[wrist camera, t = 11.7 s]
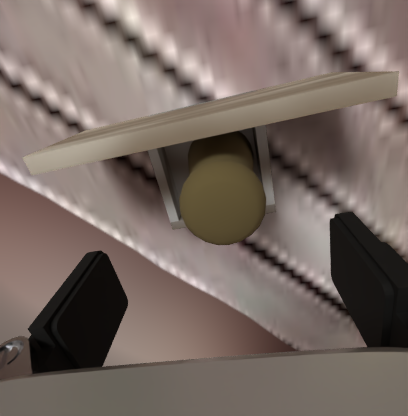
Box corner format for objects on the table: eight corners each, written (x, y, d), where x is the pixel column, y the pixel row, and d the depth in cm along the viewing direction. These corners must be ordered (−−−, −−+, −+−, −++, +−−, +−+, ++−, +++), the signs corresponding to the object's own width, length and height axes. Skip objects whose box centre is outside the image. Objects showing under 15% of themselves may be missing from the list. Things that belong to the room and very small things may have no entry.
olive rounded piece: (256, 184, 25) (282, 254, 16) (194, 194, 26) (181, 266, 16) (249, 119, 23) (275, 153, 13) (180, 132, 23) (155, 174, 14)
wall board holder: (85, 130, 25) (22, 157, 17) (331, 72, 22) (398, 71, 14) (123, 222, 29) (87, 279, 21) (332, 184, 26) (384, 233, 18)
